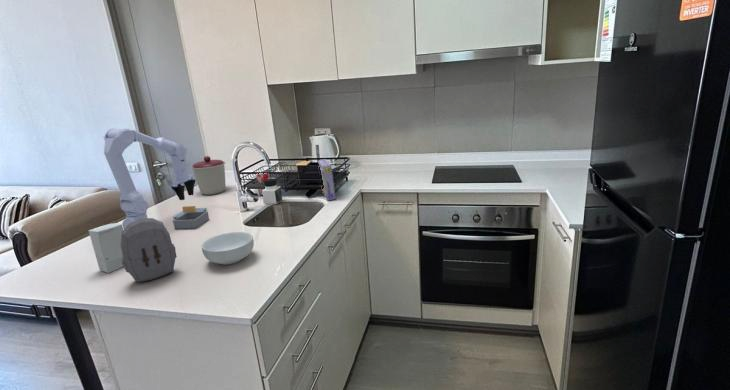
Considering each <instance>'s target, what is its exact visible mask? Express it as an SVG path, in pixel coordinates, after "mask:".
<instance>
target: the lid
mask: <svg viewBox="0 0 730 390" xmlns="http://www.w3.org/2000/svg"><path fill="white" fill-rule="evenodd" d="M206 210H207V207H196V205H185V206H182V210H181V211H180V212H179V213H176V214H174V215H173V216H172V219H177V218H178V217H180V216H181V215H183V214H185V213H186V212H205V211H206Z"/></svg>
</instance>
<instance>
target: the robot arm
mask: <svg viewBox="0 0 730 390" xmlns="http://www.w3.org/2000/svg"><path fill="white" fill-rule="evenodd" d="M103 140H104V149H103V154H104V156H105V159H106V162H107V164H108V165H109V168H110V170H111V173H112V175H113V177H114V180H115V182H116V185H117V186H118V189H119V191H120V194H121V195H120V196H119V201H120V202H119V203H120V205H119V206H120V209H121V210H122V211H123V212H124V213H125V215H126V217H125V219H124V220H122V222H121V224H122V227H123V230H124V229H125V228H126V226H127V225H128V224H129V223H131V222H134V221H136V220H138V219H140V218H148V214H147V213H148V212H147V211H148V208H149V203H148V202H147V200H146V199H144V197H143V195H142V194H141V193H140V192H139V191H138V190H137V188H136V187H135V183H134V181H133V178H132V177H131V174H130V171H129V169H128V166H127V164H126V161H125V158H124V157H123V153H124V152H125V150H126V149H127V148H128V147H130V146H131V145H132V144H133V143H134V142H135V143H137V142H139V143H142V144H145V145H149V146H152V147H153V149H154V150H155V151H158V152H162V153H163V154H167V155H168V156H170V158H171V163H172V168H173V171H174V176H175V179H174V181H173V182H171V186H170V187H171V190H173V191H174V193H175V194H176V196H177V198H178V199H179V201H184V200H185V198H186V197H185V189H186V192H187V194H188V196H193V195H194V191H195V190H194V188H195V183H197V181H196V178H195V179H194V174H189V170H188V164H187V160H186V158H187V157H186V154H187V148H186V147H185V146H184V144H182V143H176V141H174V140H168V139H166V137H164V136H161V137H157V138H155V137H152V136H149V135H147V134H144V133H142V132H140V131H137V130H135V129H130V128H110V129H108V130H107V131H106V133H105V134H104V135H103ZM182 184H183V185H182Z"/></svg>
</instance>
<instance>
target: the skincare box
mask: <svg viewBox="0 0 730 390" xmlns="http://www.w3.org/2000/svg"><path fill="white" fill-rule="evenodd" d="M123 230H124V229H123V225H122V223H115V222H111V223H108V224H104V225H101V226H98V227H95V228H92V229H89V230H88V233H89V237H90V241H91V244H92V247H93V250H94V254H95V258H96V262H97V266H98V268H99V271H101V272H104V273H106V274H110V273H112V272H114V271H117V270H119V269H121V268H123V267H124V266H123V265H122V260H121V258H122V257H123V254H122V250H121V236H122V233H121V232H122V231H123ZM124 268H125V267H124Z"/></svg>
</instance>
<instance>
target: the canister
mask: <svg viewBox="0 0 730 390" xmlns="http://www.w3.org/2000/svg"><path fill="white" fill-rule="evenodd" d="M225 164H226V161H223V160H222V159H211V157H210V156H209V155H207V156H206V155H205V156H204V157H203V160H202V161H198V162H195V163H193V164H192V165H191V166H190V169H192V171H193V176H194V177H195V180H196V184H197V186H198V189H199V191H200V193H201V194H202V195H205V196H206V195H207V196H213V195H217V194H220V193H221V194H222V192H224V191H225V190H226V186H227V185H226V183H227V182H226V170H225V169H226V167H225Z"/></svg>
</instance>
